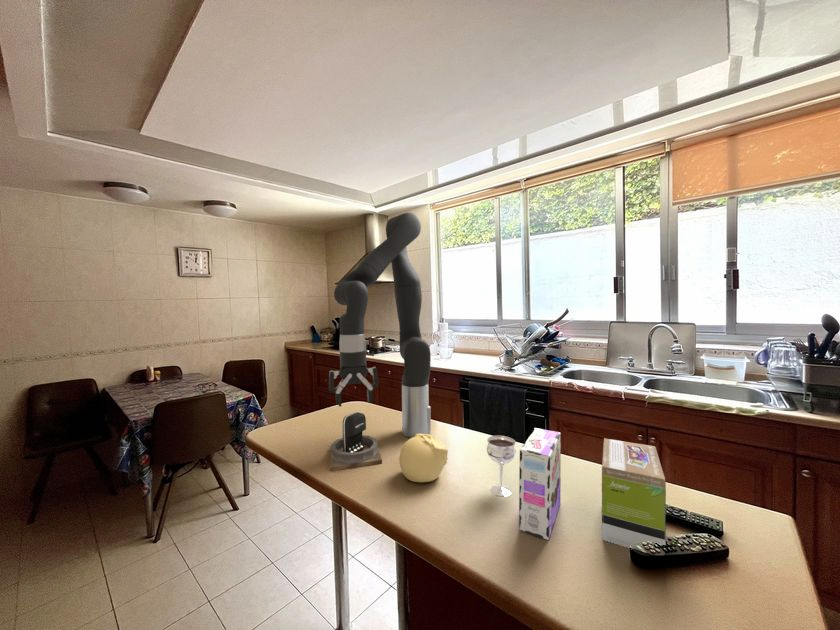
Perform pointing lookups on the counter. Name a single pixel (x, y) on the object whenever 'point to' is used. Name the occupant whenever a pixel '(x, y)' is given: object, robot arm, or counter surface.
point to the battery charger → (353, 432)
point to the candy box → (539, 482)
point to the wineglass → (501, 459)
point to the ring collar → (354, 454)
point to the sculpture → (423, 458)
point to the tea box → (632, 494)
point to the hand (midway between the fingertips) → (354, 404)
